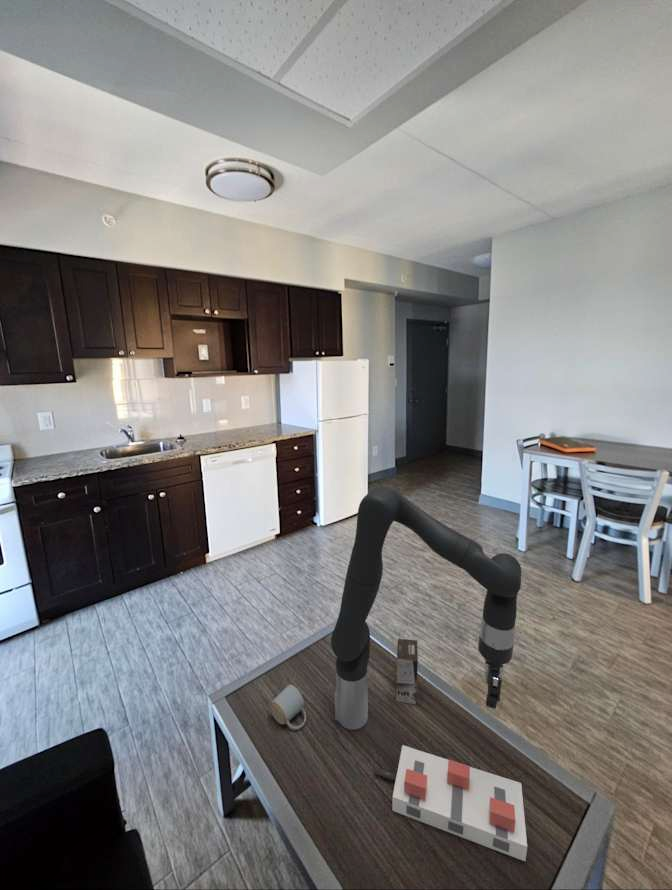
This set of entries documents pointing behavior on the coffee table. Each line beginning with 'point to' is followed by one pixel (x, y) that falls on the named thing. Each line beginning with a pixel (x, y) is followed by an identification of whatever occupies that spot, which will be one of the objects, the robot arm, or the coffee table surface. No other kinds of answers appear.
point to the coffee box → (407, 671)
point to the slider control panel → (460, 802)
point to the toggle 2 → (458, 774)
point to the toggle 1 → (415, 784)
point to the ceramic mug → (288, 706)
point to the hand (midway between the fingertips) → (490, 691)
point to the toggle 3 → (502, 814)
